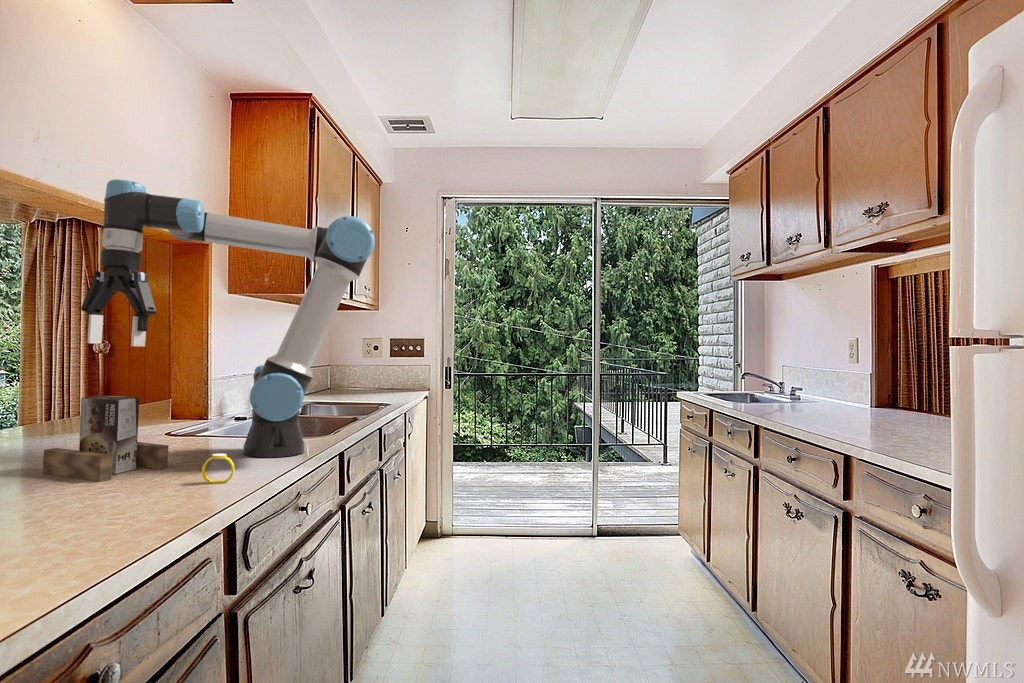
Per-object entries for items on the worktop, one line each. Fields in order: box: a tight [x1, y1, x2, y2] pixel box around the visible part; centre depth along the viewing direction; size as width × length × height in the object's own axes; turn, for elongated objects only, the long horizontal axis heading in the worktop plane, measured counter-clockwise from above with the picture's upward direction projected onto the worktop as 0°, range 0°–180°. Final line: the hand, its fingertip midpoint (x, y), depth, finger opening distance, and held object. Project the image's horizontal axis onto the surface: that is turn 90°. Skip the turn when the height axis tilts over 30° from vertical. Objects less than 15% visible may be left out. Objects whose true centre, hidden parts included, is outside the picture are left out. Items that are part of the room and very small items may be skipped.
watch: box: [201, 452, 236, 484], centre depth 122 cm, size 6×3×6 cm, turn 106°
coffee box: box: [78, 395, 140, 475], centre depth 128 cm, size 9×6×16 cm
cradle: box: [42, 441, 169, 483], centre depth 128 cm, size 16×16×5 cm
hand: (115, 345), depth 131 cm, fingers open, 13 cm apart
